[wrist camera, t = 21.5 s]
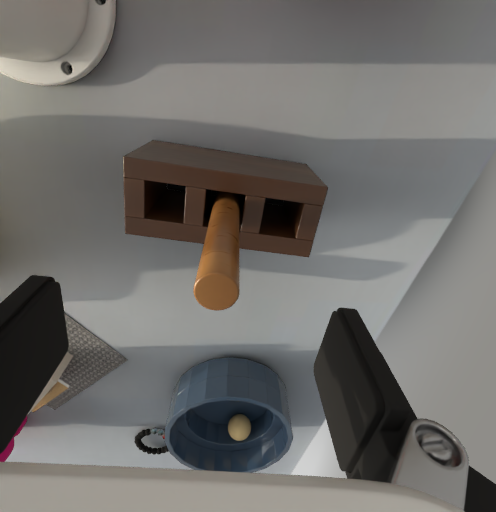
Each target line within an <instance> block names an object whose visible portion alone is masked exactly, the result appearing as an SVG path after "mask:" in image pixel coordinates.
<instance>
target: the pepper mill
mask: <svg viewBox="0 0 496 512" xmlns="http://www.w3.org/2000/svg"><path fill="white" fill-rule="evenodd" d="M26 422H27V416H26V418H25V419H24V421H23V422H22V424H21V425H20V427H19V429H18V430H17V432H16V433H15V435H14V436H13V438H12V440H11V441H10V443H9V444H8V446H7V447H6V449H5V450H4V451H3V452H2V453H1V454H0V462H5V460H6V459H7V458H8V456H9V455H10V454H11V452H12V450H13V448H14V437H15V436H17V435H18V434H19V433H20V431H21V430H22V428H23V427H24V425H25V423H26Z"/></svg>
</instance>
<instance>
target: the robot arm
mask: <svg viewBox="0 0 496 512" xmlns="http://www.w3.org/2000/svg"><path fill="white" fill-rule="evenodd" d="M115 18H116V0H106V3H105V4H103V3H102V1H101V0H0V73H2V74H4V75H6V76H8V77H11V78H13V79H15V80H18V81H21V82H25V83H29V84H33V85H44V86H52V85H64V84H67V83H71V82H75V81H77V80H78V79H80V78H82V77H84V76H85V75H87V74H88V73H89V72H90V71H92V70H93V69H94V68H95V67H96V66H97V65H98V64H99V62H100V61H101V59H102V57H103V56H104V54H105V53H106V51H107V49H108V46H109V43H110V41H111V38H112V35H113V30H114V24H115ZM70 66H72V68H73V71H72V72H71V71H70V69H69V67H70ZM68 347H69V341H68V334H67V327H66V321H65V314H64V308H63V301H62V295H61V288H60V284H59V283H58V282H55V280H54V278H52V277H47V276H37V275H32V276H30V277H29V278H28V279H27V280H26V281H24V282H23V283H22V284H21V285H20V286H19V287H18V288H17V289H16V290H15V291H14V292H12V293H11V294H10V295H9V296H8V297H7V298H6V299H5V300H4V301H3V302H2V303H0V454H1V453H2V452H3V451H4V450H5V449H6V447H7V446H8V444H9V443H10V441H11V440H12V438H13V436H14V435H15V433H16V432H17V430H18V429H19V427H20V425H21V424H22V422H23V421H24V419H25V418H26V416H27V415H28V413H29V411H30V410H31V408H32V407H33V405H34V404H35V402H36V400H37V399H38V397H39V396H40V394H41V393H42V391H43V389H44V388H45V386H46V385H47V383H48V382H49V380H50V378H51V377H52V375H53V374H54V372H55V371H56V369H57V367H58V366H59V364H60V363H61V361H62V360H63V358H64V356H65V355H66V353H67V351H68ZM314 376H315V380H316V383H317V387H318V391H319V394H320V398H321V402H322V405H323V409H324V412H325V416H326V420H327V423H328V427H329V431H330V434H331V438H332V442H333V445H334V449H335V452H336V456H337V460H338V463H339V466H340V469H341V470H342V471H345V472H346V475H347V479H345V478H332V477H318V476H302V475H301V476H300V475H283V474H264V473H245V472H226V471H205V470H184V469H163V468H141V467H119V466H96V465H72V464H48V463H24V462H0V512H496V484H494V483H493V482H492V481H490V480H489V479H487V478H486V477H484V476H483V475H482V474H480V473H479V472H477V471H476V470H474V469H473V468H472V467H470V466H469V459H468V455H467V452H466V450H465V448H464V446H463V445H462V444H461V442H460V441H459V439H458V438H457V437H456V436H455V435H454V434H453V433H452V432H451V431H449V430H448V429H447V428H445V427H444V426H443V425H440V424H439V423H437V422H435V421H431V420H428V419H417V417H416V415H415V413H414V412H413V410H412V408H411V407H410V404H409V403H408V401H407V399H406V397H405V395H404V393H403V392H402V390H401V388H400V386H399V384H398V383H397V381H396V379H395V377H394V375H393V374H392V372H391V370H390V368H389V366H388V364H387V363H386V361H385V359H384V357H383V355H382V354H381V352H380V351H379V350H378V348H377V346H376V344H375V342H374V340H373V339H372V337H371V335H370V333H369V331H368V330H367V328H366V326H365V324H364V322H363V320H362V319H361V317H360V315H359V313H358V311H357V310H355V309H348V308H339V309H338V310H337V311H334V312H333V313H332V315H331V318H330V321H329V324H328V326H327V329H326V332H325V335H324V338H323V341H322V343H321V346H320V349H319V352H318V355H317V357H316V360H315V363H314Z"/></svg>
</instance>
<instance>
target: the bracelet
mask: <svg viewBox="0 0 496 512" xmlns="http://www.w3.org/2000/svg"><path fill="white" fill-rule="evenodd" d="M151 433H153V434H156V433H158V434H159V435H162V437H163V439H164V440H165V431H164V430H163V429H157V428H156V427H155V428H153V429H147V430H143V431H142V432H139V433H138V435H136V437H135V443H136V446H137V447H139V449H140V450H142V451H143V452H146V451H147V453H148V454H151V453H152V454H156V453H157V454H161V453H165V452H168V451H169V450H168V448H167V446H165V447H162V448H158V449H157V448H153V449H152V448H151V447H149V448H148V446H145V445H144V444H143V443H142V441H141V439H142V438H143V437H144V436H146V435H150V434H151Z"/></svg>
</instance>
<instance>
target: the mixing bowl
mask: <svg viewBox="0 0 496 512" xmlns="http://www.w3.org/2000/svg"><path fill="white" fill-rule="evenodd" d="M237 414H243V415H245V416H246V417H247V418H248V419H249V420H250V423H251V432H250V434H249V436H248V437H247V438H246V439H244V440H242V441H237V440H234V439H233V438H232V437H231V436H230V434H229V432H228V423H229V421H230V419H231V418H232V417H233V416H234V415H237ZM292 440H293V434H292V427H291V421H290V415H289V408H288V402H287V395H286V389H285V385H284V384H283V382H282V381H281V379H280V378H279V376H278V375H277V374H276V373H275V372H274V371H272V370H271V369H269V368H268V367H267V366H265V365H263V364H260V363H257V362H254V361H251V360H247V359H241V358H231V357H229V358H228V357H226V358H219V359H212V360H208V361H206V362H203V363H201V364H198V365H196V366H193V367H192V368H191V369H189V370H188V371H187V372H186V373H184V374H183V375H182V376H181V377H180V379H179V381H178V382H177V384H176V386H175V388H174V391H173V396H172V400H171V405H170V409H169V414H168V418H167V423H166V427H165V443H166V446H167V448H168V450H169V452H170V454H171V455H173V456H174V457H175V458H176V459H177V460H178V461H179V462H180V463H182V464H184V465H186V466H188V467H190V468H192V469H194V470H205V471H226V472H245V473H253V472H256V471H259V470H262V469H265V468H267V467H269V466H270V465H272V464H274V463H276V462H277V461H279V460H280V459H281V458H282V457H283V456H284V455H285V454H286V453H287V452H288V450H289V448H290V445H291V443H292Z"/></svg>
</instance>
